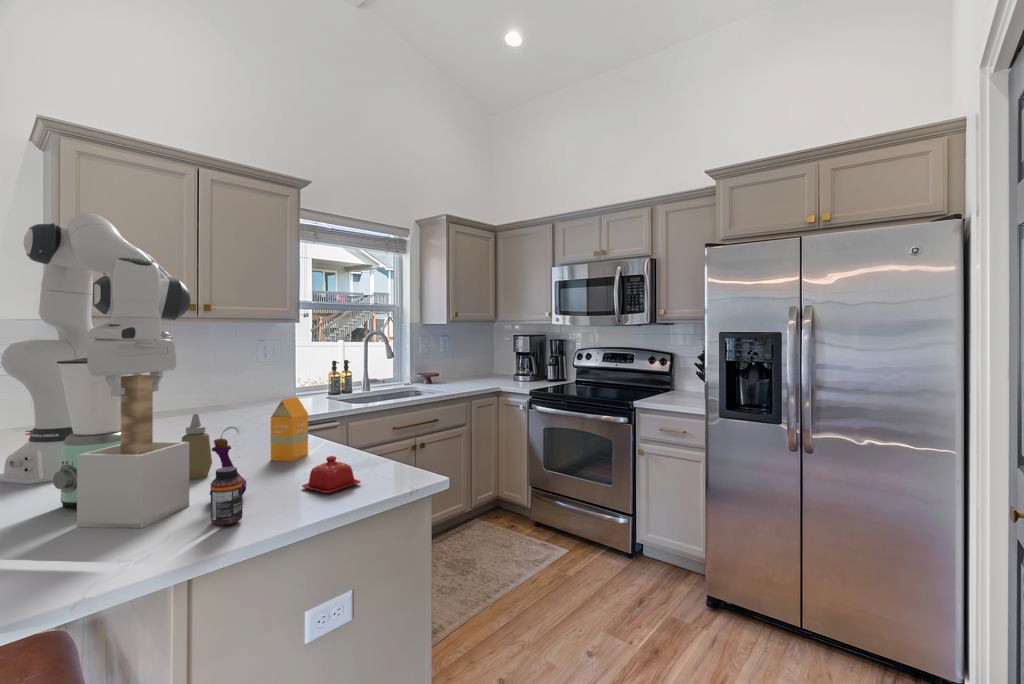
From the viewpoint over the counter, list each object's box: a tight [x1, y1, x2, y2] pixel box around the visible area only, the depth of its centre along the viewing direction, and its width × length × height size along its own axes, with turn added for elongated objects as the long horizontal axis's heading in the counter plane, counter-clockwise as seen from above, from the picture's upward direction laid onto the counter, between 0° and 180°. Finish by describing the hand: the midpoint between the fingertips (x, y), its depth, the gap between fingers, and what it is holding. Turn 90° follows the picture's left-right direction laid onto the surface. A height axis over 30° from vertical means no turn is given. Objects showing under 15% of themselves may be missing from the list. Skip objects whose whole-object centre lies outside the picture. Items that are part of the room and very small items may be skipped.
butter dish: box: [301, 455, 361, 494], centre depth 131 cm, size 12×12×8 cm
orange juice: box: [270, 396, 309, 462], centre depth 161 cm, size 8×9×20 cm
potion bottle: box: [209, 425, 247, 496], centre depth 120 cm, size 8×8×18 cm
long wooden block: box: [121, 374, 154, 455], centre depth 109 cm, size 4×4×30 cm
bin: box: [76, 440, 190, 529], centre depth 109 cm, size 14×14×15 cm
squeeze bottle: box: [180, 413, 213, 481], centre depth 140 cm, size 8×8×18 cm
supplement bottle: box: [210, 466, 243, 526], centre depth 106 cm, size 6×6×11 cm
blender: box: [52, 358, 144, 508], centre depth 119 cm, size 19×13×35 cm
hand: (136, 393), depth 109 cm, fingers open, 8 cm apart
